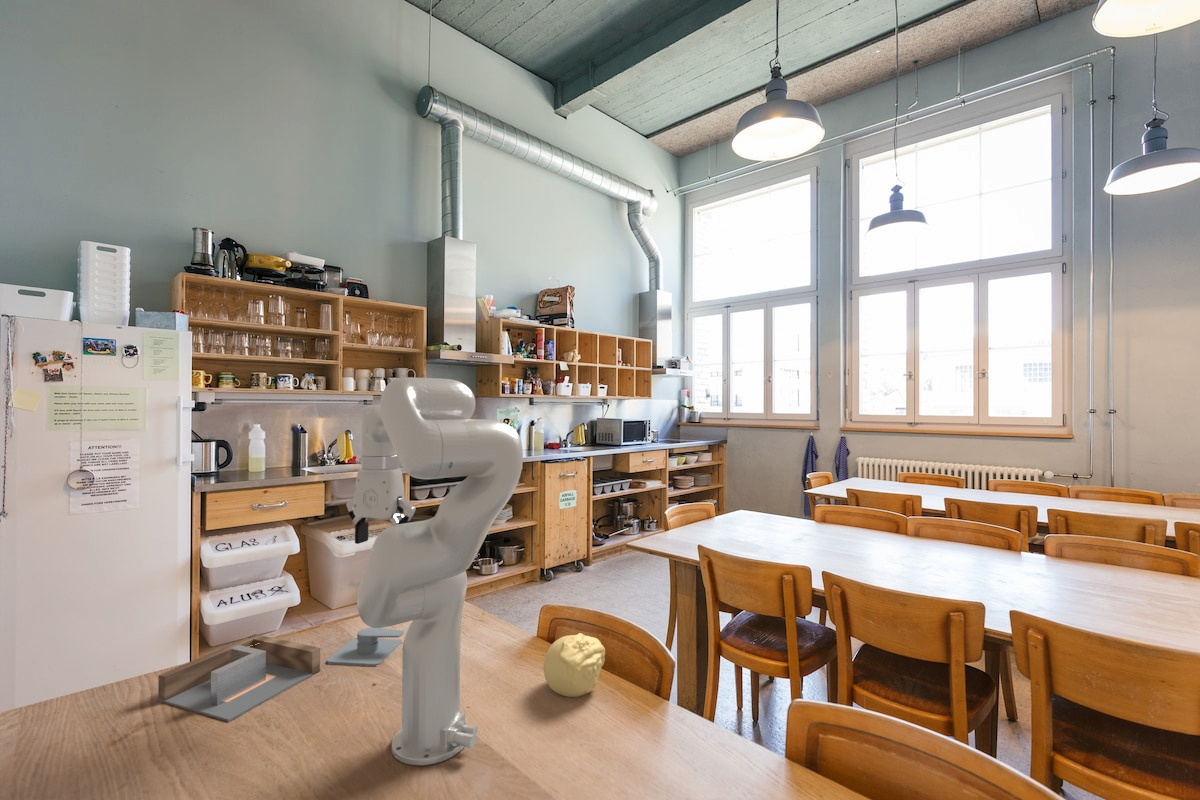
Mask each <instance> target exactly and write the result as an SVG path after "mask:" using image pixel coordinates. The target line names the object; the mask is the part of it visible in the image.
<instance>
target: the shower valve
mask: <svg viewBox="0 0 1200 800" xmlns="http://www.w3.org/2000/svg"><path fill="white" fill-rule="evenodd" d="M404 633H405V630H399V629H390V628H372V627H366V628H363V629H360V630H359V631H358V632H357V637H355V638H353V639H351V640H350V641H348V642H347V643H346V644H345V645H344V646H342V647H341V648H339V650H337V651H336V652H335V653H334V654H332V655H331V656H330V657H329V658H328V659H326V663H328V664H327V665H338V664H340V665H341V666H342V665H343V666H358V665H369V666H368V667H377V666H376V665H379V664H380V665H381V664H383V663H382V662H383V661H384V660H385V659H386V658H387V657H388V656H389V655H390V654H391V653H392V652H393V651H394V650H395V649H396V648H397V647H398V646H399V645H400V644H401V643H402V644H403V641H402V639H395V638H400V637H402V636H403V635H404ZM393 638H394V639H393ZM402 644H401V645H402ZM401 645H400V646H401ZM400 646H399V647H400ZM399 647H398V648H399ZM398 648H397V649H398ZM397 649H396V650H397ZM396 650H395V651H396ZM395 651H394V652H395ZM394 652H393V653H394ZM393 653H392V654H393ZM392 654H391V655H392ZM391 655H390V656H391ZM390 656H389V657H390ZM389 657H388V658H389ZM388 658H387V659H388ZM387 659H386V660H387ZM386 660H385V661H386ZM385 661H384V662H385ZM380 665H379V666H380Z"/></svg>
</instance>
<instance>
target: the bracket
mask: <svg viewBox="0 0 1200 800" xmlns="http://www.w3.org/2000/svg"><path fill="white" fill-rule="evenodd" d="M265 680H266V651H263V650H259V649H255V648H250V647H246V646H241V645H238V646H236V647H233V648H231V663H229V664H227V665H225V666H223V667H221V668H218V669H216V670H214V671H212V672H211V704H215V705H219V704H220V703H222V702H224V701H226V700H228V699H230V698H232V697H234V696H236V695H238V694H240V693H242V692H244V691H246V690H248V689H249V688H251V687H253V686H255V685H257V684H259V683H261V682H263V681H265Z"/></svg>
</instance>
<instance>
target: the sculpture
mask: <svg viewBox="0 0 1200 800" xmlns="http://www.w3.org/2000/svg"><path fill="white" fill-rule="evenodd" d="M605 655H606V649H605V647H604V645H603V644H602V642H601V641H600V640H599V639H598V638H596V637H593V636H589V635H585V634H583V633H580V632H579V633H577V634H571V635H564V636H561V637H560V638H558V639H556V640H555V641H554V642H553V643H552V644H550V646H549V648H548V649H547V652H546V653H545V656H544V660H543V674H544V678H545V681H546V683H547V685H548V687H549V688H550V689H551V690H553V692H555V693H556V694H559V695H560V696H561V695H562V696H564V697H568V698H578V697H582V696H584V695H587V694H588V693H591V692H592V691H593V690H594V689H595V688H596V687H597V684H598V679H599V677H600V674H601V672H602V671H601V670H602V667H603V666H605V665H604V664H605V661H606V659H605Z"/></svg>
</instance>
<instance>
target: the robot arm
mask: <svg viewBox="0 0 1200 800" xmlns="http://www.w3.org/2000/svg"><path fill="white" fill-rule="evenodd" d="M475 410H476V398H475V395H474V393H473V391H472V389H471V388H470V387H468V385H467V384H464V383H463V382H461V381H459V380H455V379H449V378H439V377H437V378H434V377H413V376H412V377H409V376H407V377H406V376H403V377H397V378H395V379H393V380H391V381H390V382H388V384H387V385H386V386H385V387H384V389H383V391H382V393H381V396H380V401H379V404H375V405H367V406H365V407H364V408H363V409H362V411H361V455H360V456H361V457H360V458H359V460H358V461H359V464H360V465H361V466H360V467H361V469H359V470H358V471H357V474H356V479H355V482H354V483H355V484H354V491H353V498H352V499H350V500H349V501H347V502H346V508H347V511H348V516H349V517H350V519H351V520H352V521H351V523H352V525H354V543H355V544H357V545H359V544H361V543H365V542H368V541H369V521H367V520H368V519H371V520H378V521H380V520H381V521H388V520H389V521H390V523H391V524H392V525H391V526H389V527H387V528H385V529H383V530H382V531H381V532H379V534H378V535H377V537H376V538H375V540H374V542H373V544H372V547H371V551H370V553H369V556H368V559H367V561H366V563H365V568H364V570H363V573H362V575H361V579H360V581H359V585H358V590H357V596H356V597H357V599H356V605H357V607H356V608H357V613H358V615H359V618H360V619H361V621H362V622H363V623H364V624H365V625H366V626H368V628H382V629H384V628H387V627H388V628H389V627H392V626H396V625H400V624H404V623H408V622H411V623H409V626H408V629H407V631H406V633H405V635H404V638H403V641H402V655H401V656H402V660H401V661H402V662H401V663H402V664H401V665H402V667H401V669H402V671H401V672H402V673H401V678H402V680H401V728H400V729H398V730H397V732H396V733H395V734H394V735H393V738H392V741H391V753H392V755H393V757H394V758H395V759H396V760H398V761H399V762H401V763H404V764H407V765H411V766H429V765H435V764H437V763H440V762H441V763H442V762H444V761H446V760H449V759H450V758H452V757H454V756H455V755H457V754H458V753H460V752H461V750H462V749H463V748H469V749H473V748H474V746H475V745H476V742H477V734H478V731H479V730H478V729H479V728H478V727H477V726H476V725H475V726H474V725H471V724H470V725H469V724H467V723H466V713H465V712H462V711H460V710H461V709H460V708H461V707H460V705H461V701H460V700H461V698H460V697H461V642H462V641H461V638H462V637H461V632H462V631H461V630H462V617H463V609H464V603H465V601H466V600H465V599H466V594H467V587H468V576H467V570H468V569H469V568H470V566H471V565H472V564H473V562H474V560H475V558H476V556H477V554H478V553H479V551H480V549H481V547H482V545H483V543H484V541H485V539H486V537H487V535H488V534H489V531H490V529H491V527H492V525H493V523H494V522H495V520H496V519H497V517H498V515H500V513H501V511H502V510H503V509H504V507H506V505H507V503H508V502H509V500H511V498H512V496H513V494H514V492H515V490H516V489H517V486H518V484H519V482H520V478H521V474H522V469H523V463H524V462H523V461H524V460H523V459H524V452H523V443H522V439H521V437H520V435H519V433H518V432H517V430H516V429H515V428H514V427H513V426H511V425H509V424H507V423H506V422H502V421H498V420H493V419H487V418H486V419H484V418H478V419H477V418H476V419H473V418H472V417H473V415H474V413H475ZM471 418H472V419H471ZM400 465H401V466H402V468H403V469H404V470H403V471H405V472H406V474H408V475H409V476H410V477H412V478H415V479H420V480H435V479H445V478H447V479H448V478H457V477H466V478H465V479H464V480H462V481H460V482H459V483H458V484H457V485H455V486H454V487H453V488H452V489H451V490H449V492H448V493H447V494H446V495H445V496H444V497H443V499H442V500H441V501H440V504H439V506H438V509H437V511H436V513H435V515H434V516H433V517H432V518H428V519H425V520H418V521H413V522H411V521H412V520H413V517H414V514H415V512H416V507H415V505H412V504H411V502H409V501H407V500H406V499H405V498H406V497H405V484H404V477H403V473H402V472H403V471H402V470H401V469H400Z"/></svg>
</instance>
